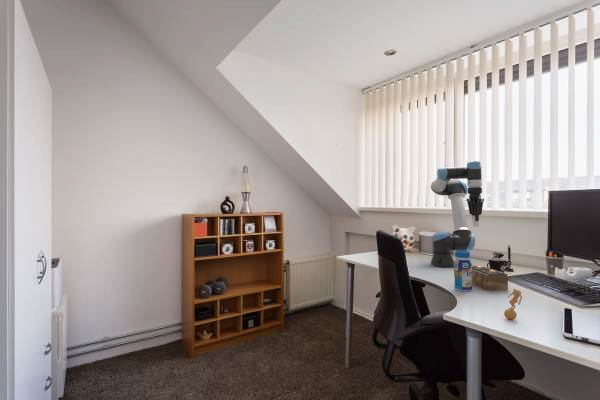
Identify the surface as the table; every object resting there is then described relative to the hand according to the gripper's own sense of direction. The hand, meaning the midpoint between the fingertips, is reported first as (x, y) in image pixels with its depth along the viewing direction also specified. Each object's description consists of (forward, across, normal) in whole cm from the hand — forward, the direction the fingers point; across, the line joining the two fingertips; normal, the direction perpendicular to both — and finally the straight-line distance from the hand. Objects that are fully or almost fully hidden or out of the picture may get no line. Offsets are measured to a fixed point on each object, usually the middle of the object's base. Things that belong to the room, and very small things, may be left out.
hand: (475, 226), depth 182 cm
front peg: (+30, +22, -8) cm, 38 cm away
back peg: (+30, +12, -8) cm, 33 cm away
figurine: (+30, +61, -29) cm, 74 cm away
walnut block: (+30, +17, -8) cm, 36 cm away
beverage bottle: (+31, +22, -23) cm, 44 cm away
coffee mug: (+31, 0, +11) cm, 33 cm away
